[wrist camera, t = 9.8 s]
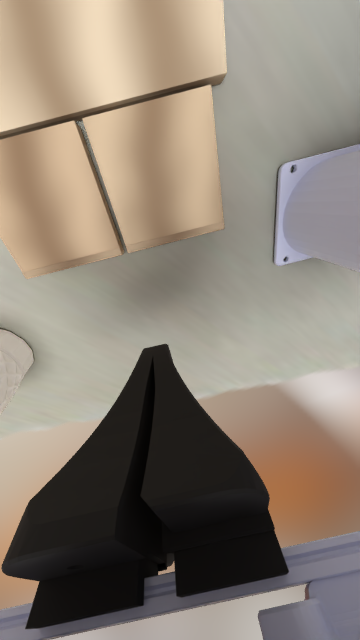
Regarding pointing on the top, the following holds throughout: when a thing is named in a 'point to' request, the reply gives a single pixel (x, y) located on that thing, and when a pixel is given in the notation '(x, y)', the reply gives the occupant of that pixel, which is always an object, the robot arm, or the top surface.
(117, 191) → the plank
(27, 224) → the plank
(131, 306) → the top surface
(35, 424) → the top surface
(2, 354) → the white cup
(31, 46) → the floor board
